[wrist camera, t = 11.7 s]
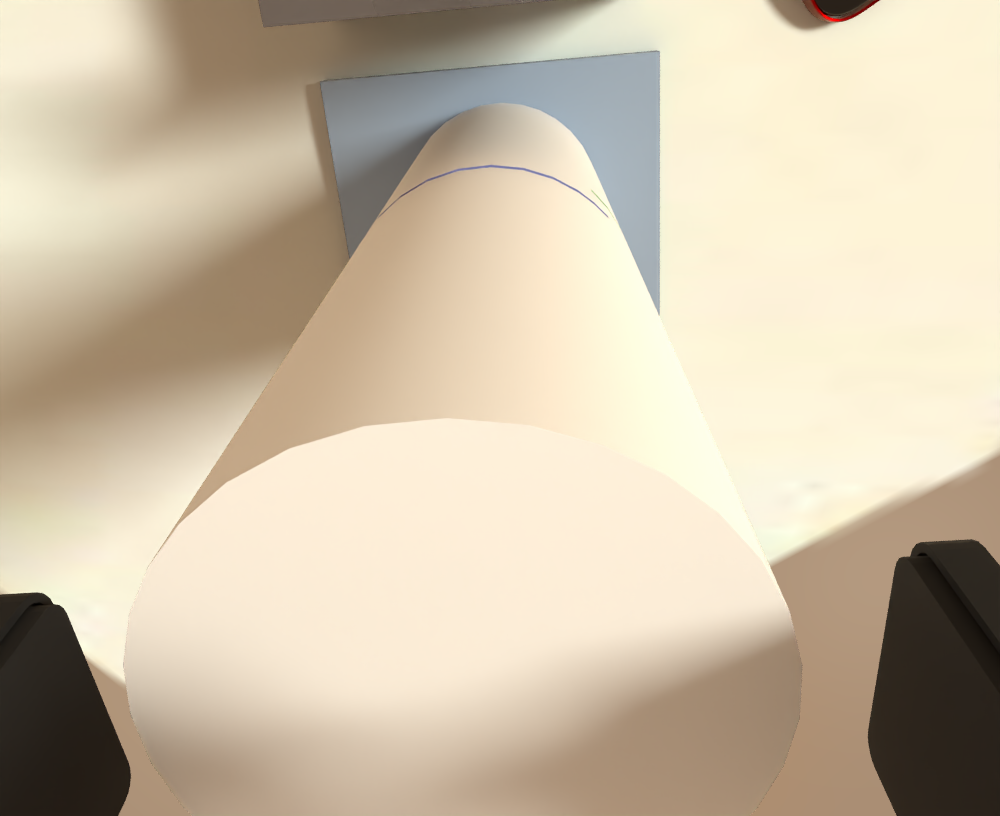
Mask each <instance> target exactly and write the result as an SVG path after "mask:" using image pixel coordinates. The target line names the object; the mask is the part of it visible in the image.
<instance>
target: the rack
mask: <svg viewBox="0 0 1000 816" xmlns="http://www.w3.org/2000/svg"><path fill="white" fill-rule="evenodd" d="M258 1H259V6H260V11H261V16H262V22H263V27H272V26H283V25H294V24H305V23H315V22H326V21H337V20H347V19H358V18H369V17H380V16H390V15H401V14H412V13H422V12H433V11H444V10H455V9H465V8H476V7H487V6H497V5H508V4H519V3H530V2H540V1H551V0H258Z"/></svg>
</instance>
